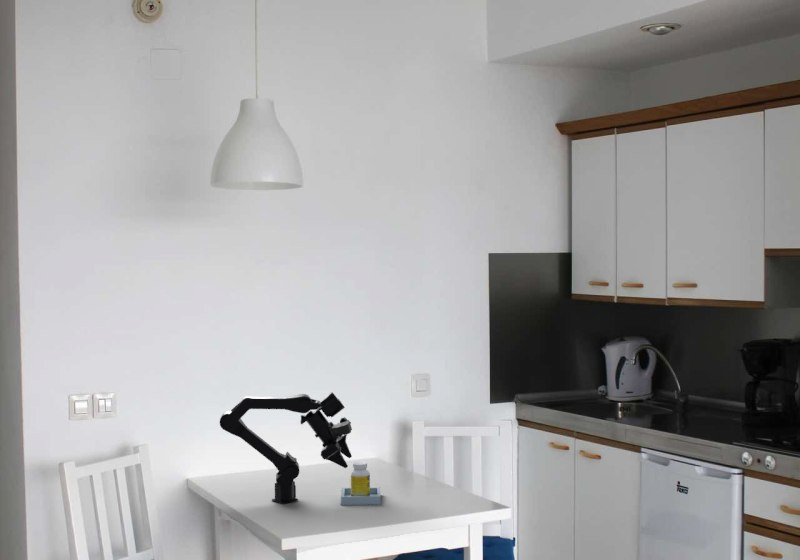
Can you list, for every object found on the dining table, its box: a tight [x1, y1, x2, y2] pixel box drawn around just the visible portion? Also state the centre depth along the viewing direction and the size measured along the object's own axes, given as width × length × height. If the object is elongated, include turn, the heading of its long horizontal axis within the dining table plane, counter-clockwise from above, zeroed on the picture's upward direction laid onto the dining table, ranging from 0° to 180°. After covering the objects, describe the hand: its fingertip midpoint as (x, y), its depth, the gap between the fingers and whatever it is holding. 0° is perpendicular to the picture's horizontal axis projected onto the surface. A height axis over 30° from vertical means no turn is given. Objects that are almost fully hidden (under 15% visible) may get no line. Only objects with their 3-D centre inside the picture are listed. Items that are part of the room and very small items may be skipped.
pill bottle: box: [350, 461, 371, 496], centre depth 308 cm, size 6×6×12 cm
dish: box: [340, 486, 381, 506], centre depth 308 cm, size 13×13×3 cm
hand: (348, 462), depth 310 cm, fingers open, 9 cm apart
